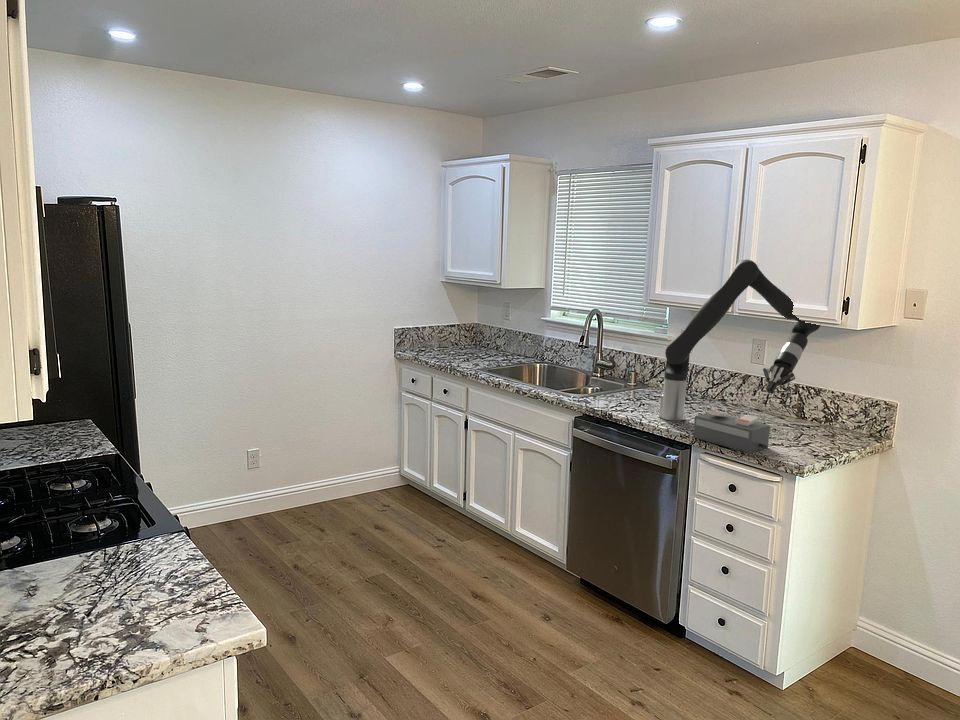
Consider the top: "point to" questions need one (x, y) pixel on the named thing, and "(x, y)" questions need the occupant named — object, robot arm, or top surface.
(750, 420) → the right rocker
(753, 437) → the switch box
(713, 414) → the left rocker
